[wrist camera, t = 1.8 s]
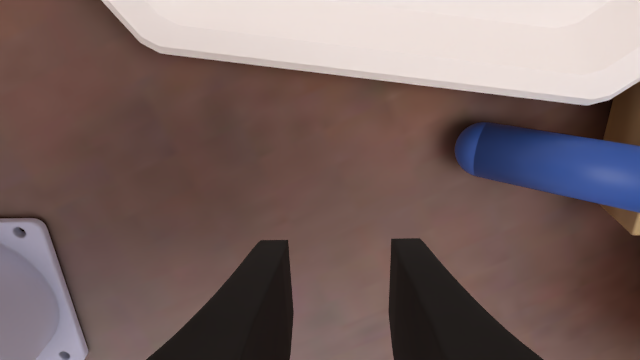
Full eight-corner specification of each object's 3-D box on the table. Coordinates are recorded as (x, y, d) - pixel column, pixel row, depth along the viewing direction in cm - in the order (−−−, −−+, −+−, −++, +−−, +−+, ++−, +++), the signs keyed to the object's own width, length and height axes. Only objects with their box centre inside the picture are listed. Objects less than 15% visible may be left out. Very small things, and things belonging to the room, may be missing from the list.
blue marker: (447, 164, 18) (484, 229, 14) (451, 115, 17) (493, 168, 13) (604, 160, 18) (694, 225, 14) (617, 110, 17) (717, 162, 13)
